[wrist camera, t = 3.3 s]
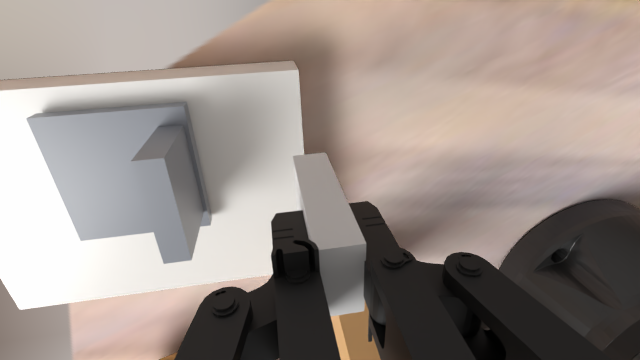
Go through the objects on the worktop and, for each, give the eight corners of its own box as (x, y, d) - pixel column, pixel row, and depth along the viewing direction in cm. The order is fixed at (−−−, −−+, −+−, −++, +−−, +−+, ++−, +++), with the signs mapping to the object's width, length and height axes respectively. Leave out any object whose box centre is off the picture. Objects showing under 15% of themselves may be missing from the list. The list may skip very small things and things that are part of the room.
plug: (371, 233, 27) (444, 385, 16) (369, 273, 29) (434, 432, 18) (319, 240, 26) (360, 401, 16) (321, 280, 28) (359, 448, 18)
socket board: (293, 60, 20) (298, 69, 17) (306, 241, 26) (311, 269, 24) (-57, 83, 18) (-111, 98, 15) (45, 275, 24) (19, 309, 21)
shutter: (186, 101, 17) (163, 135, 13) (212, 217, 20) (200, 274, 16) (36, 113, 16) (-42, 153, 12) (87, 232, 19) (39, 296, 15)
